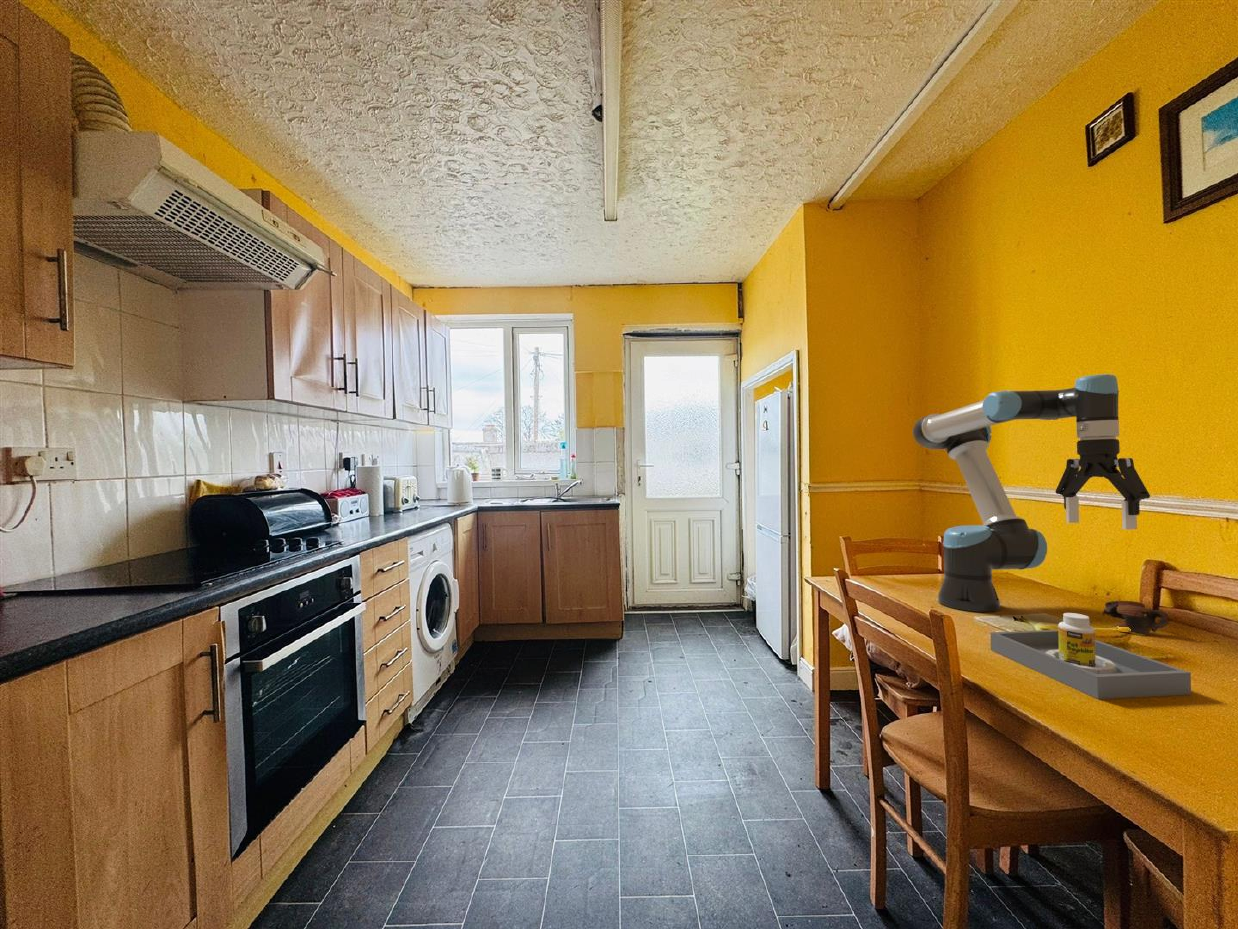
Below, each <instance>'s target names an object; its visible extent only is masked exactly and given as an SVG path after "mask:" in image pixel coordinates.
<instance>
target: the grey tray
mask: <svg viewBox="0 0 1238 929" xmlns="http://www.w3.org/2000/svg"><path fill="white" fill-rule="evenodd" d="M989 635H990V651H992V652H994V653H996V654H998V655H1001V656H1003V657H1005V658H1007V659H1009V660H1012V661H1013V662H1016V663H1018V664H1020V665H1023V666H1025V667H1026V668H1028V669H1031V670H1034V671H1035V672H1038V673H1040V674H1042V675H1045V676H1046V677H1049V678H1051V679H1053V680H1055V681H1057V682H1059V683H1062V684H1064V685H1065V686H1068V687H1071V688H1073V689H1075V690H1077V691H1079V692H1081V693H1083V694H1085V695H1088V696H1090V697H1092V698H1095V699H1097V700H1106V699H1125V698H1126V699H1127V698H1146V697H1147V698H1149V697H1151V698H1152V697H1163V696H1164V697H1165V696H1167V697H1168V696H1170V697H1171V696H1189V695H1192V681H1191V680H1192V679H1191V678H1192V674H1191V673H1192V672H1190V671H1188V670H1184V669H1181V668H1179V667H1176V666H1172V665H1170V664H1166V663H1164V662H1162V661H1159V660H1155V659H1153V658H1150V657H1147V656H1143V655H1141V654H1137V653H1134V652H1132V651H1129V650H1126V649H1124V648H1120V647H1117V646H1114V645H1111V644H1109V643H1105V642H1104V641H1100V640H1098V639H1095V663H1096V665H1095V667H1089V666H1081V665H1077V664H1072V663H1068V662H1066V661H1063V660H1061V659H1059V634H1058V629H1043V630H1041V629H1040V630H1024V631H1023V630H1019V631H1018V630H1016V631H995V632H994V631H993V632H992V631H991V632H990V634H989Z"/></svg>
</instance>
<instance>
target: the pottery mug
mask: <svg viewBox="0 0 1238 929" xmlns="http://www.w3.org/2000/svg"><path fill="white" fill-rule="evenodd" d="M1104 606H1105V609H1103V610H1102V616H1105V615H1106V616H1110V617H1112V618H1117V619H1122V620H1123V621H1124V622H1116V623H1115V627H1116V626H1119V627H1129V628H1130V629H1131V632H1130V633H1134V634H1138V635H1144V636H1150V631H1151V632H1153V633H1155V632H1156V631H1158V629H1163V628H1165V627H1166V626H1168V624H1169V623H1170V621H1171V619H1170V617H1169V614H1168V613H1166V612H1165V611H1163V610H1160V609H1147V608H1146V604H1144V603H1142V602H1139V601H1132V600H1119V601H1118V600H1112V601H1107V602H1106V603H1105V604H1104ZM1157 617H1160V620H1159V621H1158V622H1156V619H1157Z"/></svg>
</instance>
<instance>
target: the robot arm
mask: <svg viewBox="0 0 1238 929" xmlns="http://www.w3.org/2000/svg"><path fill="white" fill-rule="evenodd" d="M1119 392H1120V390H1119V385H1118V378H1117V376H1115V375H1114V374H1109V373H1108V374H1105V373H1104V374H1093V375H1086V376H1080V377H1078V378H1077V379H1075V384H1074V387H1071V388H1064V389H1063V388H1062V389H1054V390H1052V389H1049V390H1047V389H1045V390H1043V389H1042V390H1000V391H993V392H990V393H989V394H988V395H987V396H986V397H985V398H984V399H983V400H980V401H977V402H974V403H971V404H968V405H965V406H962V407H960V408H959V407H958V408H956V409H953V410H951V411H946V412H945V413H941V414H940V413H932V414H929V415H925V416H924V417H921V418H920V419H917V421H916V422H915V423H914V425H913V428H912V435H913V439H914V441H915V442H916V443H917V444H918V445H919V446H921V447H923V448H925V449H930V450H946V453H947V455H948V457H949V459H951V460H955V461H956V463H957V465H958V467H959V470H960V473H961V475H962V477H963V479H964V481H965V483H966V486H967V488H968V491H969V493H970V495H971V498H972V501H973V502H974V505H975V507H976V510H977V512H978V515H979V516H980V519H981V522H982V523H983V524H982V525H980V524H979V525H977V524H976V525H975V524H973V525H972V524H971V525H969V524H967V525H959V526H958V525H957V526H953V527H950V528H947V529H946V530H945V531H944V533H943V542H942V545H943V570H944V572H943V573H944V578H943V581H942V583H941V587H940V590H939V592H938V594H937V595H938V596H937V598H938V599H937V602H938V603H939V604H941V605H942V606H944V607H948V608H951V609H956V610H959V611H966V612H967V611H968V612H979V613H981V612H983V613H989V612H991V613H993V612H997V611H1000V609H1001V601H1000V598H999V596H998V594H997V590H996V588H995V585H994V584H993V574H992V573H993V571H992V570H1022V571H1023V570H1025V569H1035V568H1037V567H1039V566H1040V565H1041V564H1043V563H1044V561H1045V560H1046V555H1047V554H1048V543H1047V539H1046V538H1045V536H1044V535H1043V533H1041V531H1038V530H1037V529H1034V528H1029V526H1028V523H1027V521H1026V520H1025V519H1024V518H1022V517H1019V516H1017V515H1016V513H1015V510H1014V508H1013V506H1012V503H1011V502H1010V500H1009V497H1008V495H1007V493H1006V490H1005V489H1004V487H1003V485H1002V483H1001V480H1000V478H999V477H998V475H997V471H996V470H995V468H994V466H993V464H992V462H991V460H990V458H989V457H990V456H988V453H987V450H988V449H989V447H990V445H989V444H990V442H991V439H992V435H991V434H992V428H991V426H995V425H998V424H1003V423H1007V422H1010V421H1014V420H1015V421H1017V420H1042V421H1051V420H1053V421H1055V420H1059V419H1061V420H1062V419H1068V418H1074V417H1075V418H1076V420H1075V421H1076V438H1077V439H1079V440H1077V442H1076V454H1077V455H1078V456H1079V458H1068V459H1066V463H1065V464H1066V466H1065V468H1064V471H1063V474H1062V476H1061V478H1060V480H1059V483H1058V485H1057V487H1056V489H1055V494H1057V495H1059V496H1062V497H1063V508H1064V510H1065V518H1066V519H1065V520H1066V523H1067V524H1075V523H1076V524H1077V523H1080V510H1079V508H1080V506H1079V505H1080V504H1079V503H1080V502H1079V496H1078V495H1077V494H1078V493H1079V492H1080V491H1081V489H1082V488H1083V487H1084V486H1085V485H1086V483H1087V482H1088V481H1089V480H1090V479H1092V478H1104V479H1107V480H1108V481H1109V482H1110V483H1111V484H1112V486H1113V487H1114V488H1115V489H1116V490H1117V491H1118V492H1119V494H1120V495H1121V496H1122V497H1123V498H1124V499H1123V500H1121V519H1122V520H1121V522H1122V526H1121V527H1122V530H1138V518H1137V517H1138V516H1139V515H1140V513H1141V512H1140V510H1141V509H1140V502H1141V501H1143V500H1145V499H1149V498H1150V497H1151V495H1150V492H1149V491H1148V489H1147V487H1146V486H1145V483H1144V482H1143V481H1142V479H1141V477H1140V475H1139V473H1138V472H1137V470H1136V468H1135V464H1134V459H1133V458H1132V457H1120V458H1118V455H1119V454H1120V449H1121V448H1120V440H1119V439H1118V437H1119V436H1120V420H1119V418H1120V417H1119Z"/></svg>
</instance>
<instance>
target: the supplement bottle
mask: <svg viewBox="0 0 1238 929" xmlns="http://www.w3.org/2000/svg"><path fill="white" fill-rule="evenodd" d="M1090 623H1091V622H1090V616H1088V615H1086V614H1085V615H1084V614H1080V613H1075V612H1064V613H1063V617H1062V621H1060V622H1059V623H1058V625H1057V628H1058V629H1057V630H1058V634H1059V659H1061V660H1063V661H1066V662H1068V663H1072V664H1077V665H1081V666H1089V667H1095V665H1096V663H1095V640H1096V630H1095V628H1094V627H1093V626H1091V624H1090Z"/></svg>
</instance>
